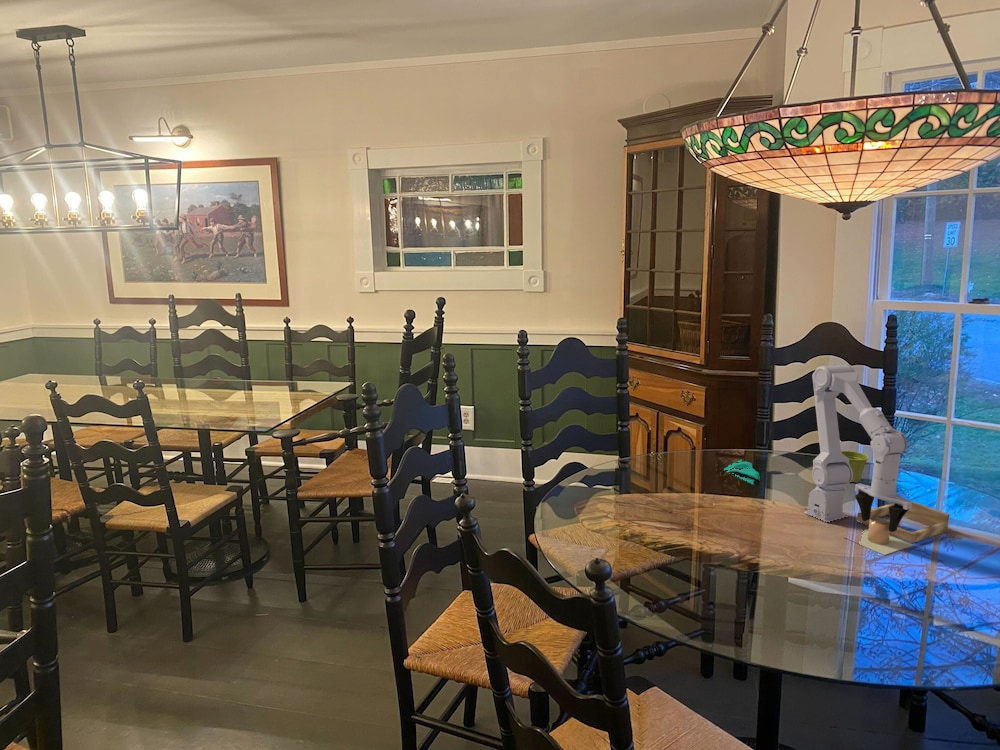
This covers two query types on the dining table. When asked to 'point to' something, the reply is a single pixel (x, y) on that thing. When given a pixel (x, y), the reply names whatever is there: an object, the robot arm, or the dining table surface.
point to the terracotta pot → (879, 531)
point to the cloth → (744, 471)
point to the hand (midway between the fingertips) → (878, 525)
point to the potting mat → (884, 549)
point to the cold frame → (917, 513)
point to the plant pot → (856, 463)
